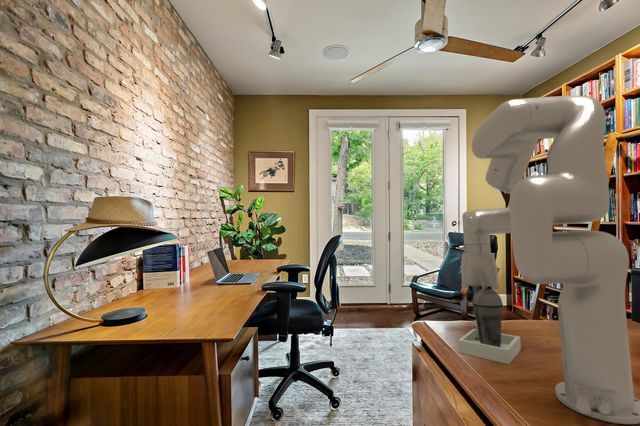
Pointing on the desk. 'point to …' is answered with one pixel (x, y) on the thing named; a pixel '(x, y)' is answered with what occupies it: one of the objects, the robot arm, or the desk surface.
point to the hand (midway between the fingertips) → (480, 306)
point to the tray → (490, 347)
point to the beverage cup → (488, 315)
